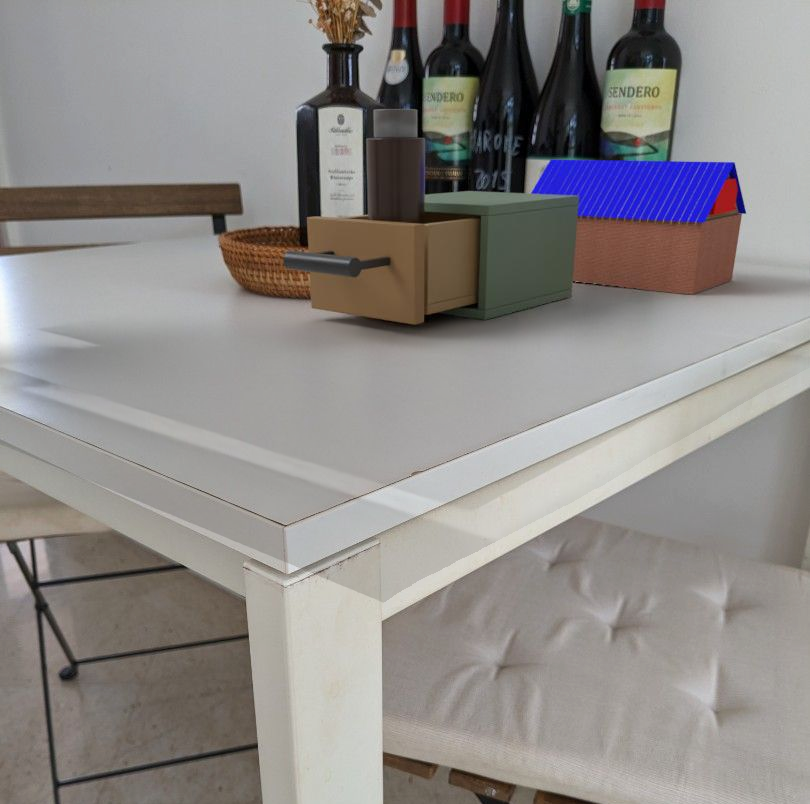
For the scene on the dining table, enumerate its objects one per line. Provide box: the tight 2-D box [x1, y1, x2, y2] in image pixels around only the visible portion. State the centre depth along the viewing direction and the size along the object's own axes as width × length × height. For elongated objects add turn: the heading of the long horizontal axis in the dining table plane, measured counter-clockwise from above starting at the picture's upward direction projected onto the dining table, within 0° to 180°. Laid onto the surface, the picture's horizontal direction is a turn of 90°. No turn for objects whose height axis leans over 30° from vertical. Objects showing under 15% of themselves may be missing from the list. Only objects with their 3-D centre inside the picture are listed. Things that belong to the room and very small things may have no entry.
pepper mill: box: [365, 108, 426, 224], centre depth 69 cm, size 5×5×14 cm
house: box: [530, 159, 747, 295], centre depth 90 cm, size 12×20×12 cm, turn 52°
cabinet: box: [425, 190, 579, 321], centre depth 79 cm, size 15×13×9 cm
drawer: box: [282, 212, 482, 325], centre depth 71 cm, size 18×11×7 cm, turn 140°
